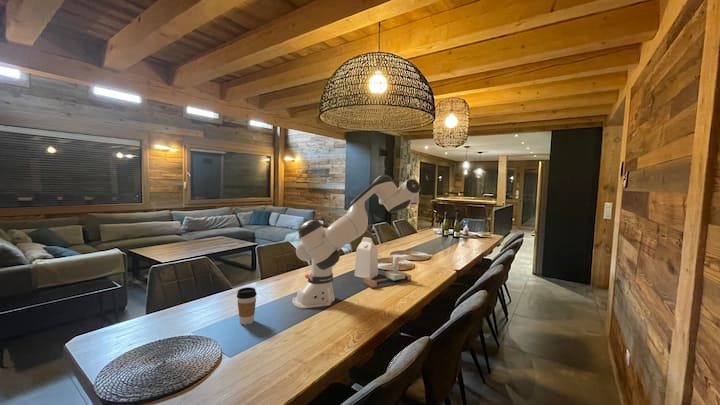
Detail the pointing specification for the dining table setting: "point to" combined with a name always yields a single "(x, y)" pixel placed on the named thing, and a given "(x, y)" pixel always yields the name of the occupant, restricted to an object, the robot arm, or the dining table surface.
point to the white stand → (395, 271)
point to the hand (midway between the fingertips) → (394, 204)
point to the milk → (366, 259)
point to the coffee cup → (246, 305)
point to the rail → (385, 281)
